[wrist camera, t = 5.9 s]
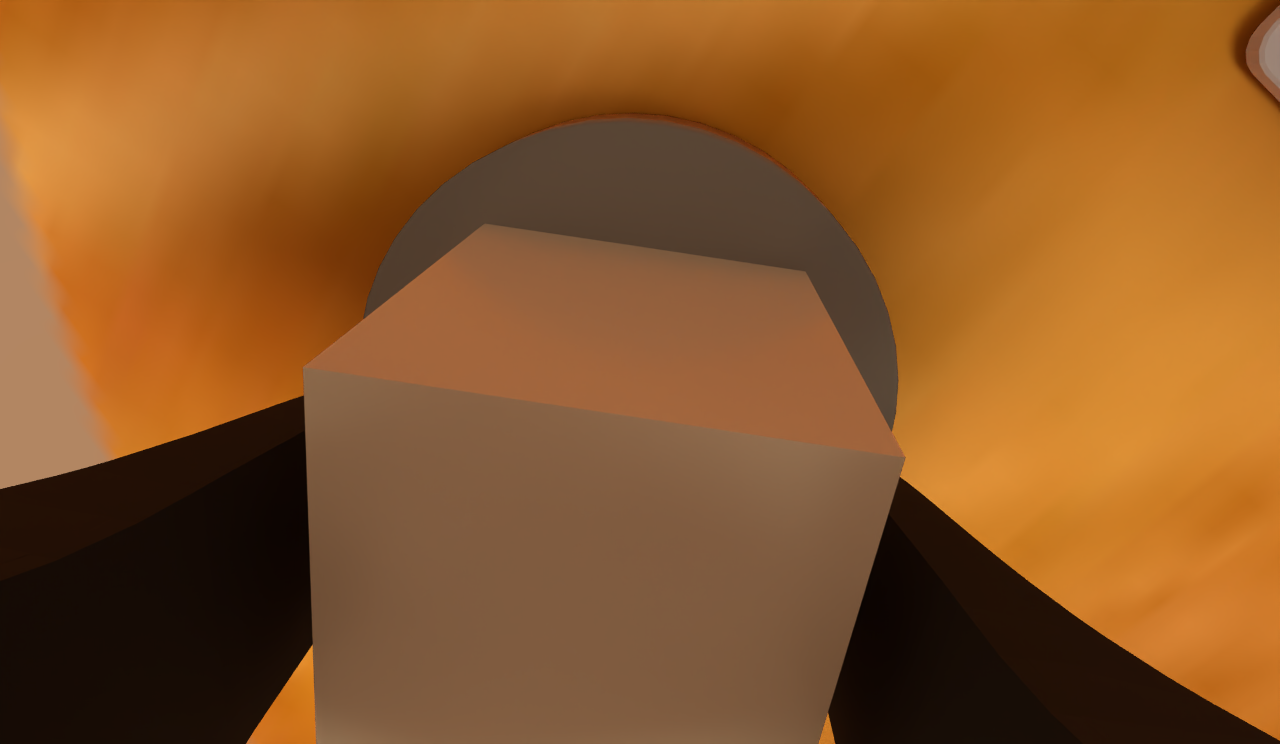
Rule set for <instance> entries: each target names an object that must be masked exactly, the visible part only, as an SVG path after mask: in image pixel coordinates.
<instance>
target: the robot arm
mask: <svg viewBox="0 0 1280 744" xmlns="http://www.w3.org/2000/svg"><path fill="white" fill-rule="evenodd" d="M1246 64H1247V66H1248V67H1249V69H1250V71H1251V73H1252V74H1253V75H1254V76H1255V77H1256V78H1257V79H1258V80H1259V81H1260V82H1261V83H1262V84H1263V85H1264V86H1265V87H1266V89H1267V90H1268V91H1269V92H1270V93H1271V94H1272V95H1273V96H1274V97H1275V98H1276V99H1277V100H1278V101H1279V102H1280V5H1279V6H1278V7H1277V8H1276V9H1275V10H1274V11H1273V12H1272V13H1271V14H1270V15H1269V16H1268V17H1267V18H1266V19H1265V20H1264V21H1263V22H1262V23H1261V24H1260V25H1259V26H1258V28H1257V29H1256V30H1255V32H1254V33H1253V34H1252V36H1251V37H1250V40H1249V43H1248V46H1247V49H1246ZM312 644H313V636H312V607H311V579H310V550H309V522H308V493H307V465H306V436H305V407H304V396H301V397H298V398H295V399H292V400H289V401H286V402H283V403H280V404H277V405H275V406H272V407H269V408H266V409H263V410H261V411H258V412H255V413H252V414H249V415H246V416H244V417H241V418H238V419H235V420H232V421H229V422H227V423H224V424H221V425H218V426H215V427H213V428H210V429H207V430H204V431H201V432H198V433H195V434H193V435H189V436H186V437H183V438H180V439H177V440H174V441H171V442H167V443H164V444H161V445H158V446H155V447H152V448H149V449H145V450H142V451H139V452H136V453H133V454H130V455H127V456H124V457H120V458H117V459H114V460H111V461H108V462H104V463H101V464H97V465H94V466H90V467H87V468H83V469H80V470H76V471H72V472H68V473H65V474H61V475H57V476H53V477H49V478H45V479H41V480H36V481H32V482H29V483H24V484H20V485H16V486H11V487H7V488H3V489H0V744H246V743H247V741H248V740H249V738H250V736H251V735H252V733H253V731H254V730H255V729H256V727H257V726H258V724H259V723H260V721H261V720H262V718H263V717H264V715H265V714H266V712H267V711H268V709H269V708H270V706H271V705H272V703H273V702H274V700H275V699H276V698H277V696H278V695H279V693H280V692H281V690H282V689H283V687H284V686H285V684H286V683H287V681H288V680H289V678H290V677H291V675H292V674H293V672H294V671H295V669H296V668H297V667H298V665H299V664H300V662H301V661H302V659H303V658H304V656H305V655H306V653H307V652H308V650H309V649H310V647H311V646H312ZM828 714H829V718H830V722H831V727H832V731H833V735H834V740H835V744H1280V741H1279V740H1277V739H1276V738H1274V737H1272V736H1270V735H1268V734H1267V733H1265V732H1263V731H1261V730H1259V729H1258V728H1256V727H1254V726H1252V725H1250V724H1249V723H1247V722H1245V721H1243V720H1241V719H1240V718H1238V717H1236V716H1234V715H1232V714H1231V713H1229V712H1227V711H1225V710H1223V709H1222V708H1220V707H1218V706H1216V705H1214V704H1213V703H1211V702H1209V701H1207V700H1206V699H1204V698H1202V697H1200V696H1199V695H1197V694H1195V693H1194V692H1192V691H1190V690H1189V689H1187V688H1185V687H1184V686H1182V685H1180V684H1179V683H1177V682H1175V681H1174V680H1172V679H1170V678H1169V677H1167V676H1165V675H1164V674H1162V673H1161V672H1159V671H1158V670H1156V669H1154V668H1153V667H1151V666H1150V665H1148V664H1147V663H1145V662H1144V661H1142V660H1140V659H1139V658H1137V657H1136V656H1134V655H1133V654H1131V653H1130V652H1128V651H1126V650H1125V649H1123V648H1122V647H1120V646H1119V645H1117V644H1116V643H1114V642H1112V641H1111V640H1109V639H1108V638H1106V637H1105V636H1103V635H1102V634H1100V633H1099V632H1098V631H1096V630H1095V629H1093V628H1092V627H1090V626H1089V625H1087V624H1086V623H1084V622H1083V621H1082V620H1080V619H1079V618H1077V617H1076V616H1074V615H1073V614H1072V613H1070V612H1069V611H1068V610H1066V609H1065V608H1064V607H1062V606H1061V605H1060V604H1058V603H1057V602H1056V601H1054V600H1053V599H1052V598H1050V597H1049V596H1048V595H1046V594H1045V593H1043V592H1042V591H1041V590H1039V589H1038V588H1037V587H1035V586H1034V585H1033V584H1031V583H1030V582H1029V581H1027V580H1026V579H1025V578H1024V577H1022V576H1021V575H1020V574H1018V573H1017V572H1016V571H1015V570H1013V569H1012V568H1011V567H1010V566H1008V565H1007V564H1006V563H1005V562H1003V561H1002V560H1001V559H1000V558H998V557H997V556H996V555H995V554H993V553H992V552H991V551H990V550H988V549H987V548H986V547H985V546H984V545H982V544H981V543H980V542H979V541H978V540H976V539H975V538H974V537H973V536H971V535H970V534H969V533H968V532H967V531H966V530H964V529H963V528H962V527H961V526H960V525H958V524H957V523H956V522H955V521H954V520H952V519H951V518H950V517H949V516H948V515H946V514H945V513H944V512H943V511H942V510H940V509H939V508H938V507H937V506H936V505H935V504H933V503H932V502H931V501H930V500H929V499H927V498H926V497H925V496H924V495H922V494H921V493H920V492H919V491H917V490H916V489H915V488H914V487H912V486H911V485H910V484H909V483H907V482H906V481H905V480H903V479H902V478H900V477H899V480H898V484H897V487H896V490H895V493H894V497H893V500H892V503H891V507H890V510H889V513H888V516H887V520H886V523H885V526H884V530H883V533H882V536H881V539H880V543H879V546H878V549H877V553H876V556H875V559H874V562H873V566H872V569H871V572H870V576H869V579H868V582H867V585H866V589H865V592H864V595H863V599H862V602H861V605H860V608H859V612H858V615H857V618H856V621H855V625H854V628H853V631H852V635H851V638H850V641H849V644H848V648H847V651H846V654H845V658H844V661H843V664H842V667H841V671H840V674H839V677H838V681H837V684H836V687H835V690H834V694H833V697H832V700H831V704H830V707H829V710H828Z"/></svg>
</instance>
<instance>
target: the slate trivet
mask: <svg viewBox="0 0 1280 744" xmlns="http://www.w3.org/2000/svg"><path fill="white" fill-rule="evenodd" d="M483 224H491V225H498V226H505V227H511V228H518V229H525V230H531V231H538V232H545V233H552V234H558V235H565V236H572V237H579V238H585V239H592V240H599V241H605V242H612V243H619V244H626V245H632V246H639V247H646V248H652V249H659V250H666V251H672V252H679V253H686V254H692V255H699V256H706V257H712V258H719V259H726V260H732V261H739V262H745V263H752V264H759V265H765V266H772V267H779V268H785V269H792V270H799V271H805V272H806V273H807V275H808V277H809V279H810V281H811V283H812V285H813V286H814V288H815V290H816V292H817V294H818V296H819V298H820V299H821V301H822V303H823V305H824V307H825V309H826V311H827V312H828V314H829V316H830V318H831V320H832V322H833V324H834V326H835V327H836V329H837V331H838V333H839V335H840V337H841V339H842V340H843V342H844V344H845V346H846V348H847V350H848V352H849V353H850V355H851V357H852V359H853V361H854V363H855V365H856V366H857V368H858V370H859V372H860V374H861V376H862V378H863V380H864V381H865V383H866V385H867V387H868V389H869V391H870V393H871V394H872V396H873V398H874V400H875V402H876V404H877V406H878V407H879V409H880V411H881V413H882V415H883V417H884V419H885V420H886V422H887V424H888V426H889V428H890V430H891V432H892V428H893V424H894V419H895V415H896V405H897V391H898V370H897V356H896V345H895V341H894V336H893V332H892V327H891V323H890V318H889V314H888V311H887V308H886V306H885V303H884V300H883V298H882V295H881V293H880V290H879V287H878V285H877V282H876V280H875V278H874V276H873V274H872V272H871V271H870V269H869V267H868V265H867V263H866V262H865V260H864V258H863V256H862V255H861V253H860V251H859V249H858V248H857V246H856V245H855V244H854V242H853V241H852V240H851V238H850V237H849V236H848V235H847V233H846V232H845V231H844V229H843V228H842V227H841V225H840V224H839V223H838V222H837V220H836V219H835V218H834V216H833V215H832V214H831V213H830V212H829V210H828V209H827V208H826V207H825V206H824V205H823V203H822V202H821V201H820V200H819V199H818V197H817V196H816V195H815V194H814V193H813V192H812V191H811V190H810V189H809V188H808V187H807V186H806V185H805V184H804V183H803V182H802V181H801V180H800V179H799V178H798V177H797V176H796V175H794V174H793V173H792V172H791V171H790V170H789V169H787V168H786V167H785V166H783V165H782V164H780V163H779V162H778V161H776V160H775V159H774V158H772V157H771V156H770V155H768V154H767V153H765V152H764V151H762V150H760V149H758V148H757V147H755V146H753V145H751V144H749V143H747V142H745V141H744V140H742V139H740V138H738V137H736V136H734V135H732V134H729V133H726V132H724V131H721V130H718V129H716V128H713V127H710V126H708V125H705V124H702V123H698V122H694V121H689V120H685V119H680V118H676V117H671V116H666V115H653V114H641V113H621V114H604V115H595V116H590V117H585V118H580V119H575V120H570V121H565V122H562V123H559V124H556V125H553V126H551V127H548V128H545V129H542V130H539V131H536V132H533V133H531V134H529V135H527V136H525V137H523V138H521V139H519V140H516V141H514V142H512V143H510V144H508V145H506V146H504V147H502V148H500V149H498V150H496V151H494V152H492V153H491V154H489V155H487V156H485V157H483V158H481V159H479V160H477V161H475V162H473V163H472V164H470V165H469V166H468V167H466V168H465V169H463V170H462V171H461V172H459V173H458V174H456V175H455V176H454V177H452V178H451V179H450V180H448V181H447V182H445V183H444V184H443V185H442V186H441V187H440V188H439V189H437V190H436V191H435V192H434V193H433V194H432V195H431V196H430V197H429V198H428V199H427V200H426V201H425V202H424V203H423V204H422V205H421V206H420V207H419V208H418V209H417V210H416V211H415V213H414V214H413V215H412V217H411V218H410V219H409V221H408V222H407V223H406V224H405V226H404V227H403V228H402V230H401V231H400V232H399V234H398V235H397V236H396V238H395V239H394V241H393V243H392V245H391V247H390V249H389V250H388V252H387V254H386V256H385V258H384V259H383V261H382V263H381V265H380V267H379V269H378V272H377V275H376V277H375V280H374V283H373V285H372V288H371V291H370V293H369V296H368V299H367V304H366V308H365V313H364V318H363V319H365V318H366V317H367V316H368V315H370V314H371V313H372V312H373V311H375V310H376V309H377V308H379V307H380V306H381V305H382V304H384V303H385V302H386V301H387V300H389V299H390V298H391V297H392V296H394V295H395V294H396V293H397V292H399V291H400V290H401V289H403V288H404V287H405V286H406V285H408V284H409V283H410V282H411V281H413V280H414V279H415V278H416V277H418V276H419V275H420V274H422V273H423V272H424V271H425V270H427V269H428V268H429V267H430V266H432V265H433V264H434V263H435V262H437V261H438V260H439V259H440V258H442V257H443V256H444V255H446V254H447V253H448V252H449V251H451V250H452V249H453V248H454V247H456V246H457V245H458V244H459V243H461V242H462V241H463V240H465V239H466V238H467V237H468V236H470V235H471V234H472V233H473V232H475V231H476V230H477V229H478V228H480V227H481V226H482V225H483Z"/></svg>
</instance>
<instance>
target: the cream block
mask: <svg viewBox="0 0 1280 744" xmlns="http://www.w3.org/2000/svg"><path fill="white" fill-rule="evenodd" d="M303 379H304V407H305V436H306V465H307V493H308V522H309V550H310V579H311V607H312V636H313V664H314V693H315V721H316V744H818V743H819V740H820V736H821V733H822V730H823V727H824V723H825V720H826V717H827V713H828V710H829V707H830V704H831V700H832V697H833V694H834V690H835V687H836V684H837V681H838V677H839V674H840V671H841V667H842V664H843V661H844V658H845V654H846V651H847V648H848V644H849V641H850V638H851V635H852V631H853V628H854V625H855V621H856V618H857V615H858V612H859V608H860V605H861V602H862V599H863V595H864V592H865V589H866V585H867V582H868V579H869V576H870V572H871V569H872V566H873V562H874V559H875V556H876V553H877V549H878V546H879V543H880V539H881V536H882V533H883V530H884V526H885V523H886V520H887V516H888V513H889V510H890V507H891V503H892V500H893V497H894V493H895V490H896V487H897V484H898V480H899V477H900V474H901V471H902V467H903V464H904V461H905V456H904V454H903V452H902V450H901V448H900V447H899V445H898V443H897V441H896V439H895V437H894V435H893V433H892V432H891V430H890V428H889V426H888V424H887V422H886V420H885V419H884V417H883V415H882V413H881V411H880V409H879V407H878V406H877V404H876V402H875V400H874V398H873V396H872V394H871V393H870V391H869V389H868V387H867V385H866V383H865V381H864V380H863V378H862V376H861V374H860V372H859V370H858V368H857V366H856V365H855V363H854V361H853V359H852V357H851V355H850V353H849V352H848V350H847V348H846V346H845V344H844V342H843V340H842V339H841V337H840V335H839V333H838V331H837V329H836V327H835V326H834V324H833V322H832V320H831V318H830V316H829V314H828V312H827V311H826V309H825V307H824V305H823V303H822V301H821V299H820V298H819V296H818V294H817V292H816V290H815V288H814V286H813V285H812V283H811V281H810V279H809V277H808V275H807V273H806V272H805V271H799V270H792V269H785V268H779V267H772V266H765V265H759V264H752V263H745V262H739V261H732V260H726V259H719V258H712V257H706V256H699V255H692V254H686V253H679V252H672V251H666V250H659V249H652V248H646V247H639V246H632V245H626V244H619V243H612V242H605V241H599V240H592V239H585V238H579V237H572V236H565V235H558V234H552V233H545V232H538V231H531V230H525V229H518V228H511V227H505V226H498V225H491V224H483V225H482V226H481V227H480V228H478V229H477V230H476V231H475V232H473V233H472V234H471V235H470V236H468V237H467V238H466V239H465V240H463V241H462V242H461V243H459V244H458V245H457V246H456V247H454V248H453V249H452V250H451V251H449V252H448V253H447V254H446V255H444V256H443V257H442V258H440V259H439V260H438V261H437V262H435V263H434V264H433V265H432V266H430V267H429V268H428V269H427V270H425V271H424V272H423V273H422V274H420V275H419V276H418V277H416V278H415V279H414V280H413V281H411V282H410V283H409V284H408V285H406V286H405V287H404V288H403V289H401V290H400V291H399V292H397V293H396V294H395V295H394V296H392V297H391V298H390V299H389V300H387V301H386V302H385V303H384V304H382V305H381V306H380V307H379V308H377V309H376V310H375V311H373V312H372V313H371V314H370V315H368V316H367V317H366V318H365V319H363V320H362V321H361V322H360V323H358V324H357V325H356V326H354V327H353V328H352V329H351V330H349V331H348V332H347V333H346V334H344V335H343V336H342V337H341V338H339V339H338V340H337V341H336V342H334V343H333V344H332V345H330V346H329V347H328V348H327V349H325V350H324V351H323V352H322V353H320V354H319V355H318V356H317V357H315V358H314V359H313V360H311V361H310V362H309V363H308V364H306V365H305V366H304V367H303Z"/></svg>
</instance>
